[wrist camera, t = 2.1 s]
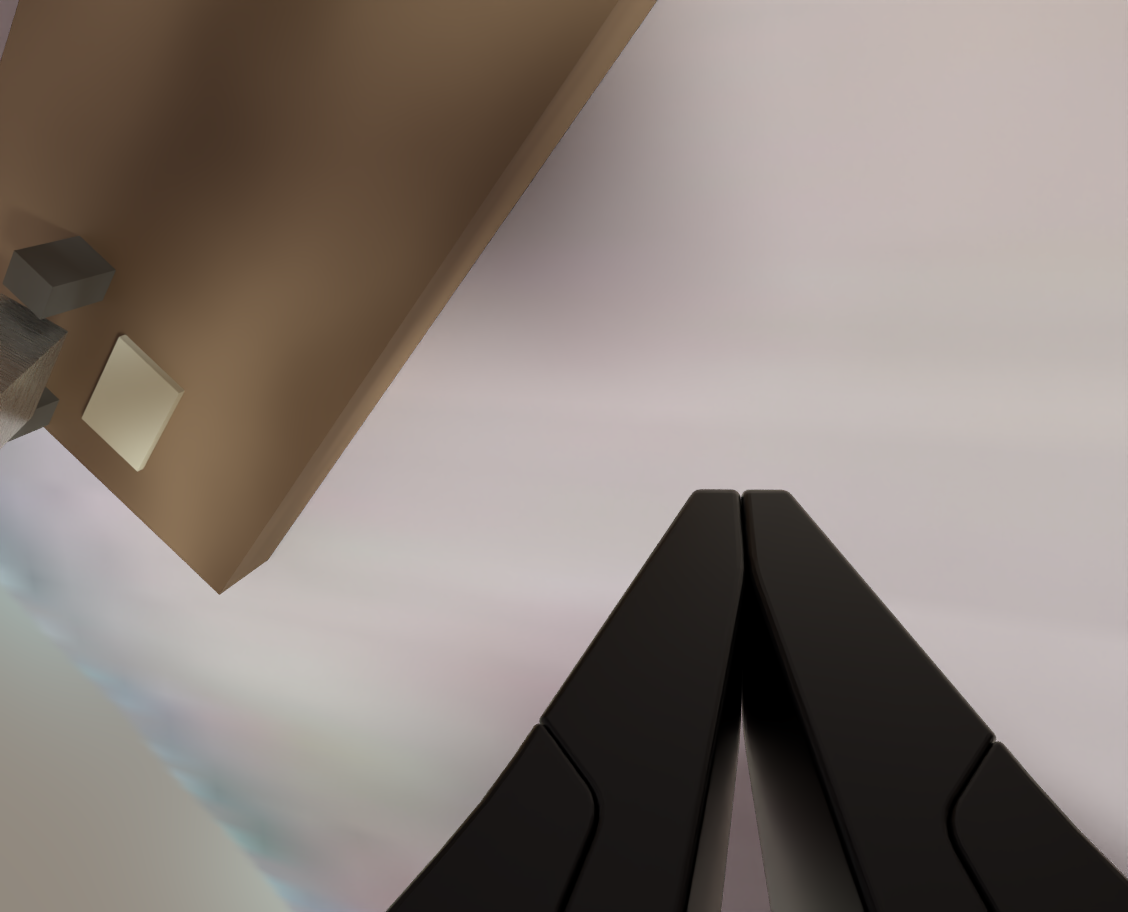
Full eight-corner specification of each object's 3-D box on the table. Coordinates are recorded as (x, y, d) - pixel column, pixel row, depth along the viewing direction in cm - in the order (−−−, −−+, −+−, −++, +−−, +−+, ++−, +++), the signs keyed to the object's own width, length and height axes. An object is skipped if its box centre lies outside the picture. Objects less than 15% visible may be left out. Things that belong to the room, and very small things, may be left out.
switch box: (731, -108, 17) (665, -137, 14) (267, 559, 28) (170, 629, 25) (272, -518, 18) (106, -637, 14) (-11, 295, 28) (-143, 330, 25)
